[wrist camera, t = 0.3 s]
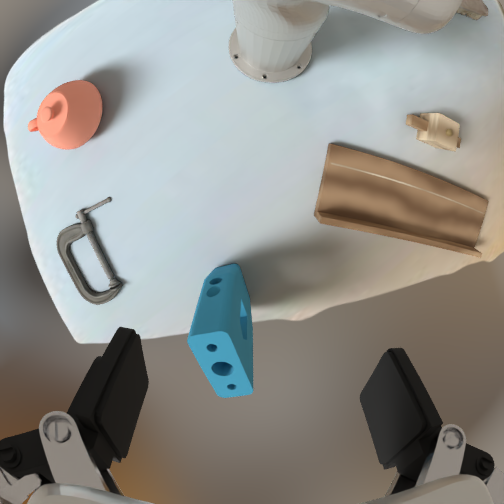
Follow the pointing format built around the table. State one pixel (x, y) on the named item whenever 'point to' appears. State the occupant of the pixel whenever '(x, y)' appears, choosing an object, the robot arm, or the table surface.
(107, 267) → the c clamp
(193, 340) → the block
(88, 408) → the robot arm
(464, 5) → the beige mottled oblong part
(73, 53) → the table surface
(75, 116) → the sugar bowl
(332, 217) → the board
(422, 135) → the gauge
